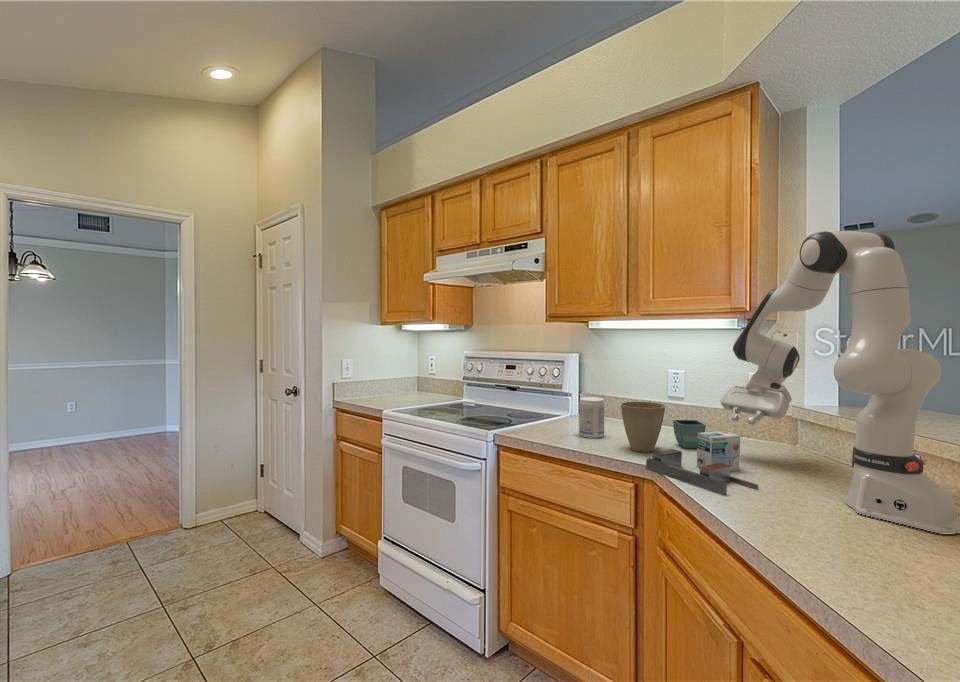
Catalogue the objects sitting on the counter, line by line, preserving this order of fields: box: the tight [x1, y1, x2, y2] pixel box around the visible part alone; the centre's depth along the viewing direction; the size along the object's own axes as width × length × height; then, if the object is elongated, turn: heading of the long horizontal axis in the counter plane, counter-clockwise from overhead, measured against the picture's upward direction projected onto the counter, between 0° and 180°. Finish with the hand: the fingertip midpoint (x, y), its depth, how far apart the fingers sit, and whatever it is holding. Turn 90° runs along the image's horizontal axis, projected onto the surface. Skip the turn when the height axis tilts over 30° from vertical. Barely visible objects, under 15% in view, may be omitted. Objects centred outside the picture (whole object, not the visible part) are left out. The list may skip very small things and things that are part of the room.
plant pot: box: [620, 400, 666, 453], centre depth 175 cm, size 15×15×16 cm
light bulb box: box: [696, 430, 741, 472], centre depth 153 cm, size 11×7×11 cm, turn 106°
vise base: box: [645, 448, 759, 496], centre depth 144 cm, size 28×13×5 cm, turn 29°
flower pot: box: [672, 419, 707, 449], centre depth 179 cm, size 9×9×9 cm
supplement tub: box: [578, 396, 605, 439], centre depth 195 cm, size 10×10×15 cm
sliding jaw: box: [699, 463, 731, 483], centre depth 140 cm, size 3×9×4 cm, turn 119°
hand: (742, 421), depth 158 cm, fingers open, 4 cm apart
